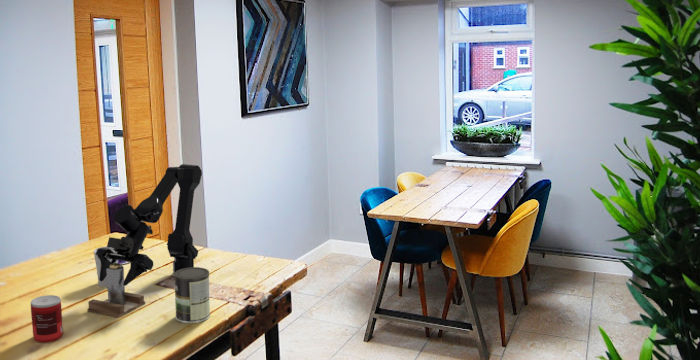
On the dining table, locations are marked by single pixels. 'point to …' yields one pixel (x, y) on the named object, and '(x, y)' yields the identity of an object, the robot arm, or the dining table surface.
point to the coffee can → (192, 295)
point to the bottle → (115, 284)
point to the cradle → (117, 305)
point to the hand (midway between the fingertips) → (112, 282)
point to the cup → (98, 266)
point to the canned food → (46, 318)
